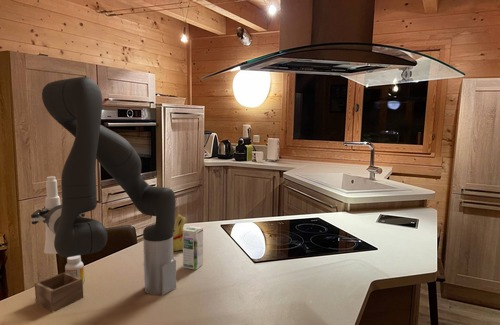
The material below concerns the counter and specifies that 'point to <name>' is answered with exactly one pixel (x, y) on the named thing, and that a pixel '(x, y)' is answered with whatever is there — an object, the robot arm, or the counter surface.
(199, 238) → the syrup box
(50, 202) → the cosmetic bottle
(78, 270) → the supplement bottle
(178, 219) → the chocolate bunny
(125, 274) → the counter surface
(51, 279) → the holder
